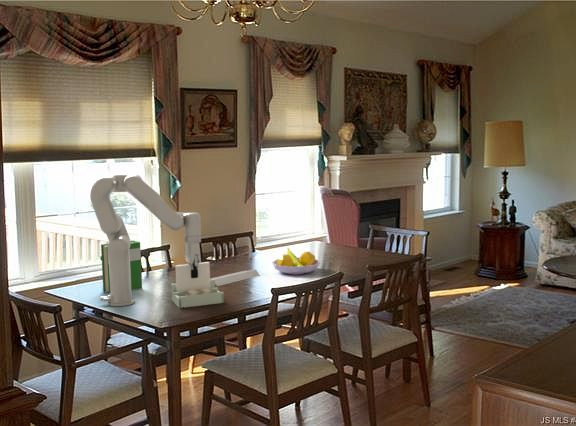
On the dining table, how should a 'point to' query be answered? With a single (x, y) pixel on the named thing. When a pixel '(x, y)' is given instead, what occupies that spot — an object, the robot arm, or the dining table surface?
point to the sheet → (188, 283)
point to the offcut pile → (198, 292)
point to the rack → (197, 297)
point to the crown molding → (235, 277)
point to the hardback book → (134, 266)
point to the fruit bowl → (296, 263)
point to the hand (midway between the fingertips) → (193, 277)
